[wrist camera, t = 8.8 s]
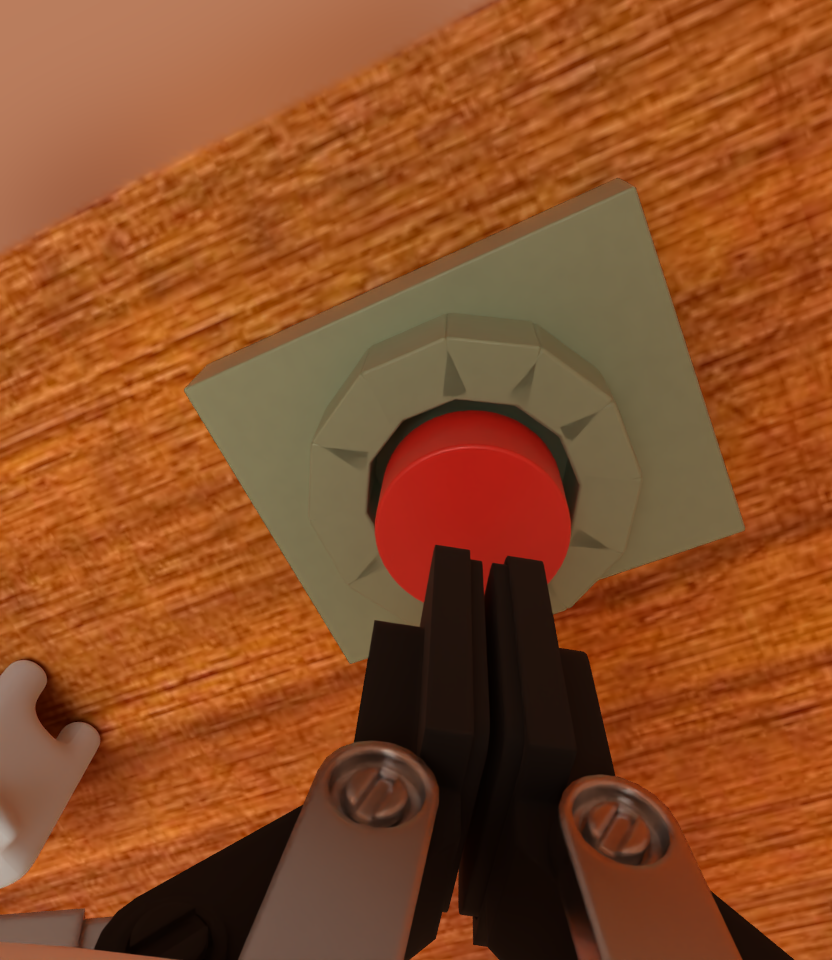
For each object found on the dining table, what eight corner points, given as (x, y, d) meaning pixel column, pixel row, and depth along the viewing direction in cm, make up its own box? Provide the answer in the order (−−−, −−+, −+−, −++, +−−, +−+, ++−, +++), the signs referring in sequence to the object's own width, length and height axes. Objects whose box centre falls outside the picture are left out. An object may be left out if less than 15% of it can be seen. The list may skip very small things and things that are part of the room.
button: (522, 380, 15) (529, 414, 13) (586, 532, 16) (599, 579, 15) (352, 449, 16) (340, 488, 14) (427, 589, 17) (423, 639, 16)
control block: (619, 176, 16) (656, 197, 13) (724, 496, 19) (775, 575, 16) (205, 365, 18) (152, 421, 15) (357, 624, 22) (339, 715, 18)
